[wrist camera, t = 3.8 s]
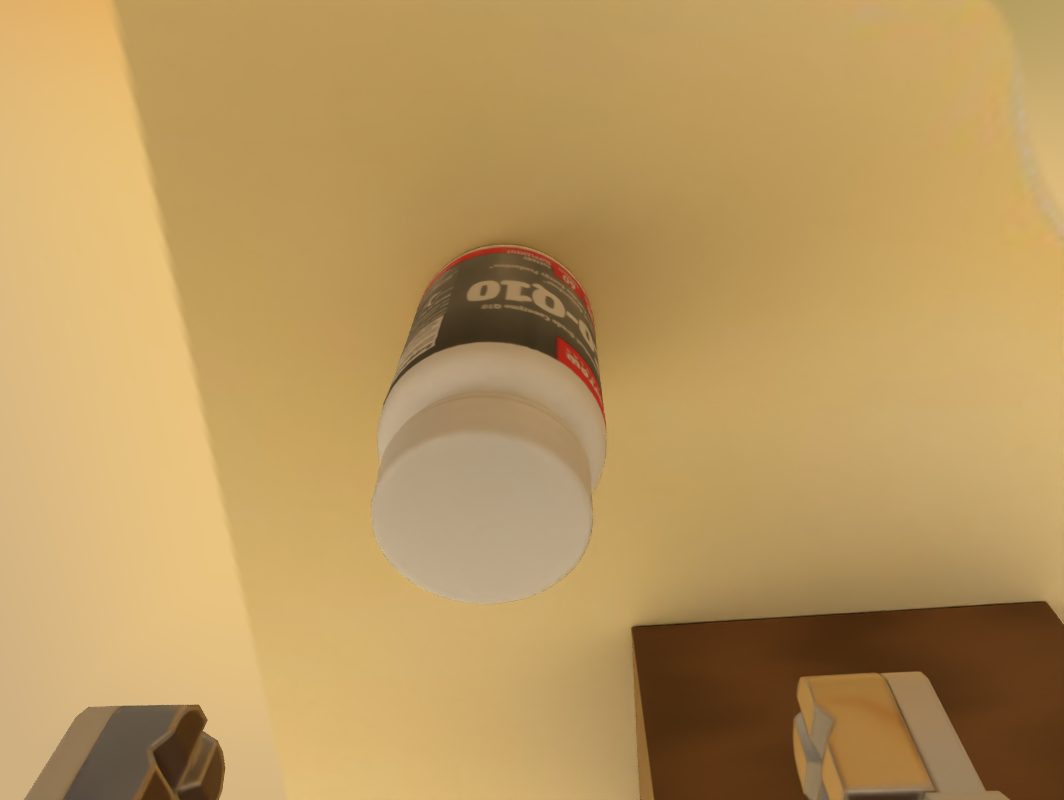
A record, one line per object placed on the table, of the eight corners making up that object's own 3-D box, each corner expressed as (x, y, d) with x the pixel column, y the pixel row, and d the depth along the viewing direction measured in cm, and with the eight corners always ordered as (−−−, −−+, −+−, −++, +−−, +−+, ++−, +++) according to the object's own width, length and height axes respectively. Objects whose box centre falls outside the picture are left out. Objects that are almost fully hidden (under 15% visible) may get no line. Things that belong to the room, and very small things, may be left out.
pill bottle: (627, 297, 20) (673, 492, 13) (534, 424, 22) (529, 652, 15) (471, 205, 19) (428, 364, 12) (388, 348, 21) (309, 557, 14)
